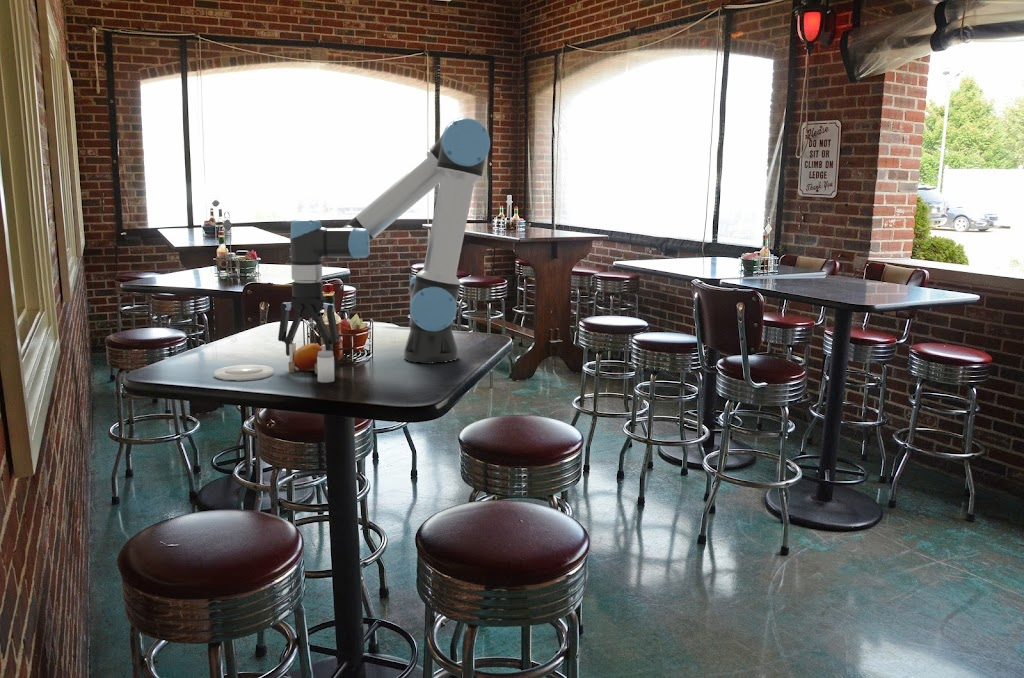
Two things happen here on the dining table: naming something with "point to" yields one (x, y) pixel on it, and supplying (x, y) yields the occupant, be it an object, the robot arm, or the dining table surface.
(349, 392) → the dining table surface
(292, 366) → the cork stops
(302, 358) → the fruit
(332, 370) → the salt shaker
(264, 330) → the dining table surface
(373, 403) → the dining table surface
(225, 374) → the saucer
